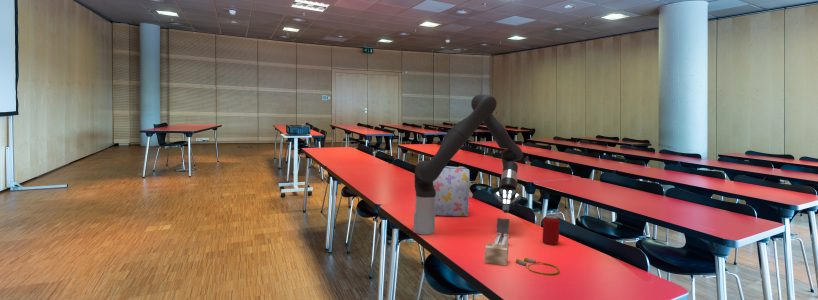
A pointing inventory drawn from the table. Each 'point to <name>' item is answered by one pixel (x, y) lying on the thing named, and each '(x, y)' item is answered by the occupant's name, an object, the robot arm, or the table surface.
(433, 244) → the table surface
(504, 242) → the guide sleeve
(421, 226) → the robot arm
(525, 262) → the extension cord
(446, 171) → the lunch bag
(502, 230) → the dark grey block
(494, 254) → the socket block
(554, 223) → the beverage can
